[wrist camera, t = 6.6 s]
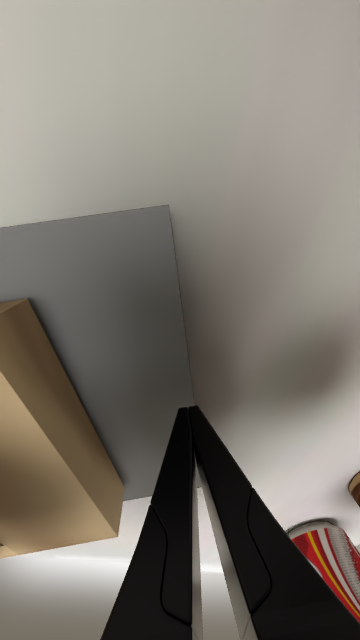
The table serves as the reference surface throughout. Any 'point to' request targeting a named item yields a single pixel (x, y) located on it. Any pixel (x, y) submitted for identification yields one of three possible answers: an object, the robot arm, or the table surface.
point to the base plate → (110, 326)
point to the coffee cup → (355, 488)
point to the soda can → (332, 559)
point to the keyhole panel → (47, 448)
